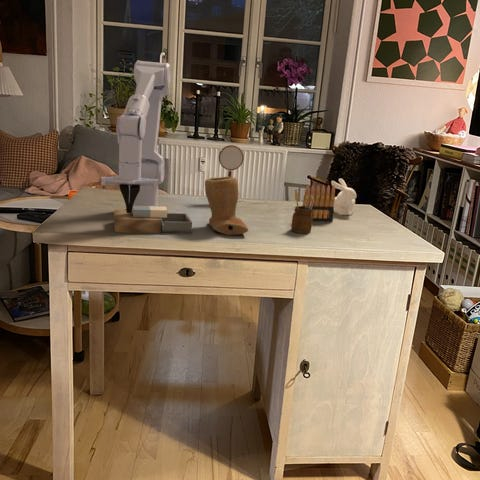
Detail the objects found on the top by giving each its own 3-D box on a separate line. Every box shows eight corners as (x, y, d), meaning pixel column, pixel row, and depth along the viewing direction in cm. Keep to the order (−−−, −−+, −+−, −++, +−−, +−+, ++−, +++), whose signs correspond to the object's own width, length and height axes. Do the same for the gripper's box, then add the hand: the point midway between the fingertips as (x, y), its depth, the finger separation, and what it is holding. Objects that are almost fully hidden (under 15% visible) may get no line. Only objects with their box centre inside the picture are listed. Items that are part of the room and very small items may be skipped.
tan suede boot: (200, 221, 150) (203, 171, 146) (239, 223, 152) (244, 173, 148) (205, 236, 136) (209, 181, 132) (248, 237, 138) (253, 183, 134)
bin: (161, 232, 135) (162, 222, 134) (158, 222, 144) (158, 212, 144) (191, 233, 137) (192, 222, 136) (186, 223, 146) (186, 213, 146)
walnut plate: (114, 232, 132) (114, 219, 131) (114, 222, 141) (114, 209, 140) (160, 232, 135) (161, 220, 134) (157, 222, 144) (157, 211, 143)
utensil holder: (305, 235, 146) (311, 194, 142) (286, 230, 149) (291, 190, 145) (314, 231, 150) (319, 191, 147) (295, 227, 153) (299, 188, 150)
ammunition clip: (330, 220, 165) (335, 184, 162) (332, 222, 164) (337, 185, 160) (299, 219, 163) (304, 183, 159) (301, 221, 161) (306, 184, 158)
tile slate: (133, 216, 135) (133, 209, 134) (132, 212, 139) (132, 205, 138) (150, 217, 136) (150, 210, 135) (148, 213, 140) (149, 206, 140)
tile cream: (150, 217, 136) (150, 210, 135) (148, 213, 140) (149, 206, 140) (166, 217, 137) (167, 210, 137) (165, 213, 141) (165, 206, 141)
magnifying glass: (239, 202, 181) (244, 145, 175) (239, 203, 179) (244, 146, 173) (215, 200, 179) (219, 144, 174) (215, 201, 178) (219, 144, 172)
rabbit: (354, 217, 173) (360, 183, 170) (327, 214, 174) (331, 179, 171) (352, 210, 184) (357, 177, 181) (326, 207, 186) (331, 174, 182)
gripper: (101, 162, 127) (101, 215, 131) (159, 165, 131) (157, 216, 135) (101, 158, 134) (101, 208, 137) (157, 161, 137) (155, 210, 141)
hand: (129, 212), depth 136 cm, fingers closed
